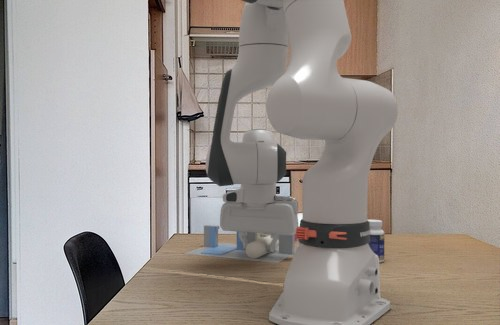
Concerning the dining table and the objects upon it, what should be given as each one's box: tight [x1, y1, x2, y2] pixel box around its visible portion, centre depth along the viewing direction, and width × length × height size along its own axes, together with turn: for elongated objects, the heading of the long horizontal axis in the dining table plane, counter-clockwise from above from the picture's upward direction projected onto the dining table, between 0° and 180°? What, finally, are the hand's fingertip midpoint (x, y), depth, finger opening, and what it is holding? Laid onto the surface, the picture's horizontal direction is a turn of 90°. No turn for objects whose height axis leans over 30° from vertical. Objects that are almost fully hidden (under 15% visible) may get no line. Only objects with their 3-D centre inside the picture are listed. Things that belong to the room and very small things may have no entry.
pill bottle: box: [367, 219, 385, 264], centre depth 112 cm, size 6×6×10 cm
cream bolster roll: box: [246, 235, 279, 259], centre depth 116 cm, size 12×4×4 cm, turn 155°
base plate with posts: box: [183, 224, 297, 264], centre depth 120 cm, size 18×26×7 cm
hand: (258, 250), depth 114 cm, fingers open, 5 cm apart
